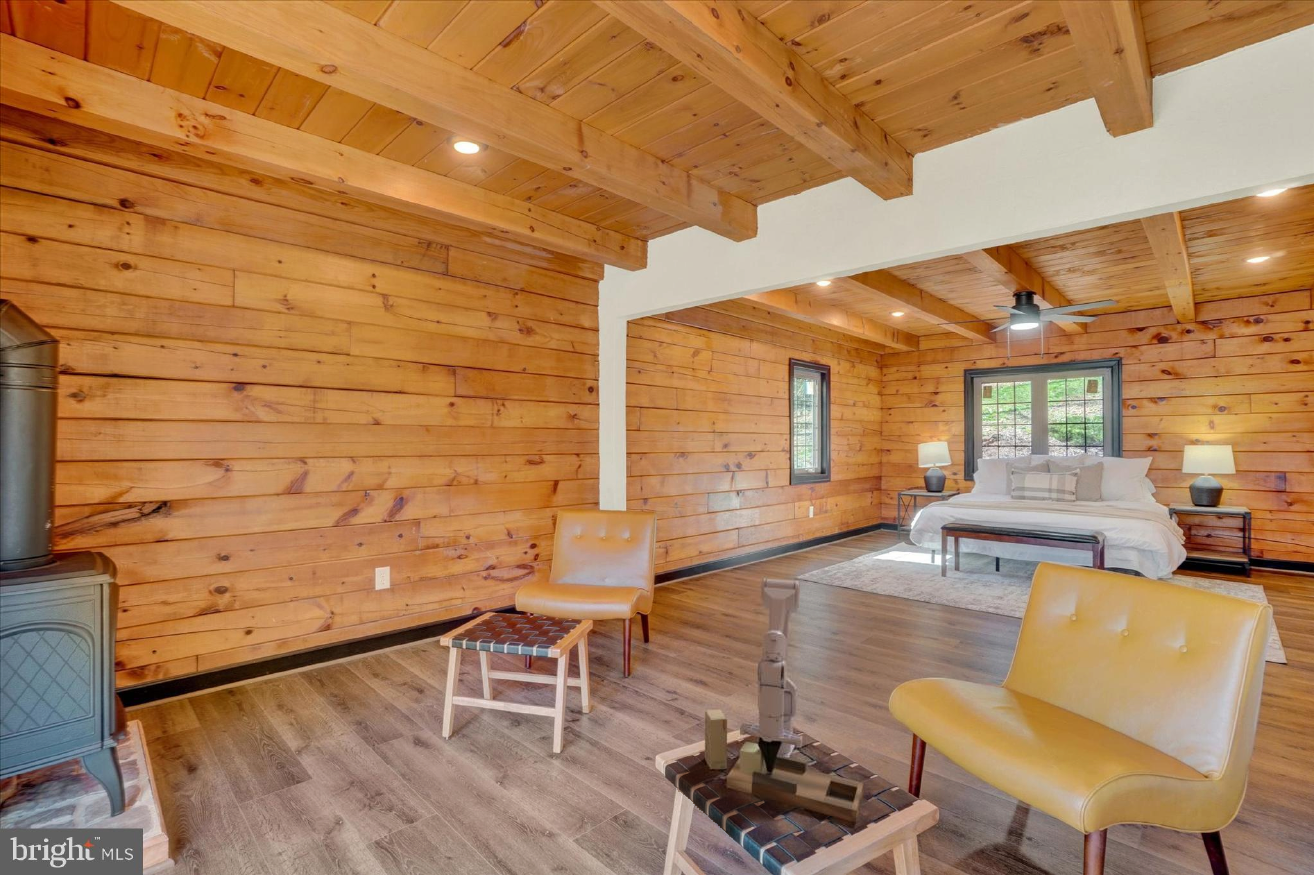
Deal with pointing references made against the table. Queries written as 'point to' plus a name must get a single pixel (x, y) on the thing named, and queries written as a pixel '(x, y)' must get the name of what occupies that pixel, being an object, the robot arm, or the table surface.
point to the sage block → (751, 759)
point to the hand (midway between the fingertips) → (770, 770)
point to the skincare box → (716, 739)
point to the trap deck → (801, 788)
